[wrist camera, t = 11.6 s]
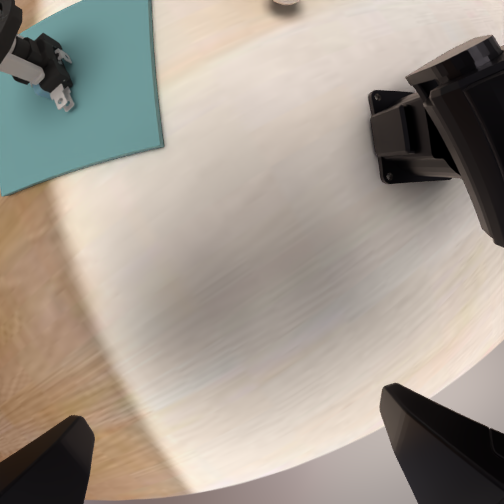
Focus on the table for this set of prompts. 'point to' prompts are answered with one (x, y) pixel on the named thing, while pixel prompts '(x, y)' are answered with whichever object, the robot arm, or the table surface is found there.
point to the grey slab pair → (286, 2)
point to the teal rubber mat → (84, 96)
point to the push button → (33, 58)
